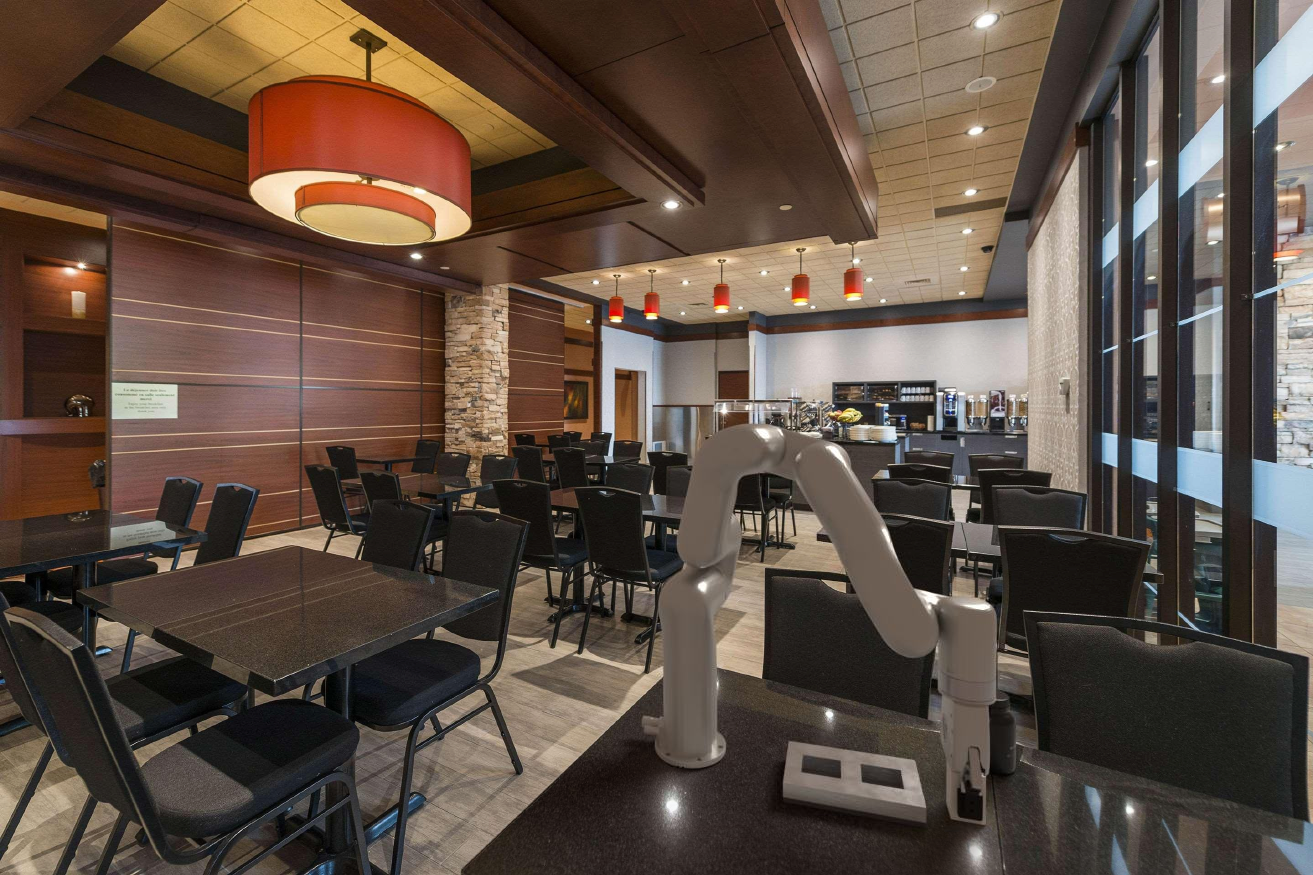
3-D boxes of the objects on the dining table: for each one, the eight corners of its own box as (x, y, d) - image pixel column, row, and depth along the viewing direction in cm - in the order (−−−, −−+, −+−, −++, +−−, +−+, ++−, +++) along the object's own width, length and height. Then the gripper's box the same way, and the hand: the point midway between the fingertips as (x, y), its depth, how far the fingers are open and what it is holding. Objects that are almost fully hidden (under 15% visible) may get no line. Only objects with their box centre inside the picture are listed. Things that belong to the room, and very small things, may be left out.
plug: (950, 818, 84) (951, 771, 84) (946, 803, 87) (946, 757, 87) (985, 825, 82) (986, 777, 82) (979, 808, 86) (979, 762, 86)
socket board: (783, 801, 88) (783, 782, 88) (788, 757, 99) (788, 740, 99) (926, 828, 82) (926, 807, 82) (914, 778, 93) (914, 759, 93)
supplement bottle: (1023, 778, 93) (1023, 705, 93) (977, 773, 94) (977, 701, 94) (1006, 754, 100) (1006, 686, 100) (963, 750, 101) (964, 682, 101)
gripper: (929, 658, 94) (928, 768, 94) (949, 707, 77) (948, 840, 78) (980, 663, 91) (979, 776, 92) (1012, 715, 75) (1011, 852, 76)
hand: (965, 804), depth 85 cm, fingers open, 4 cm apart
